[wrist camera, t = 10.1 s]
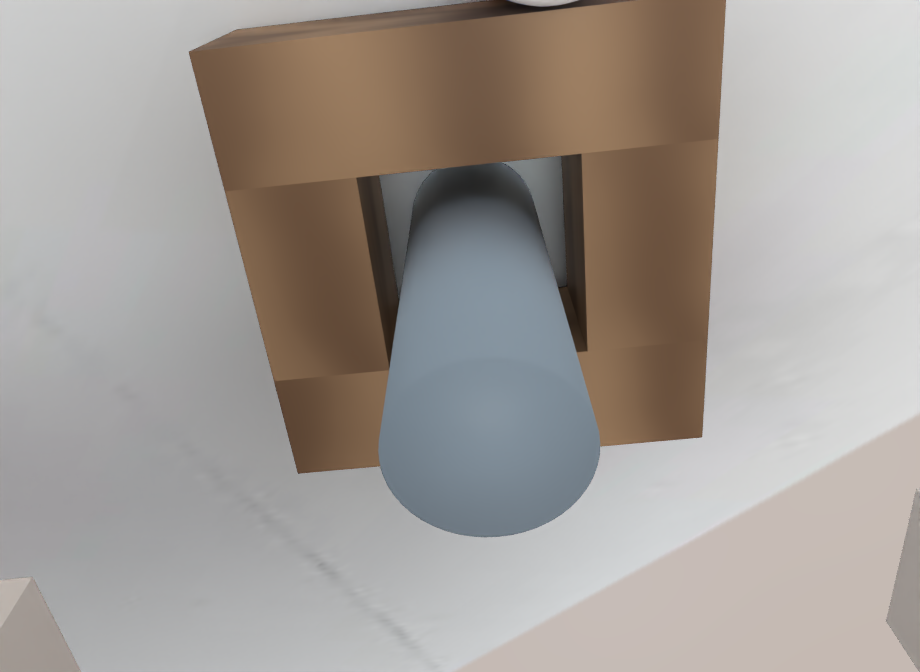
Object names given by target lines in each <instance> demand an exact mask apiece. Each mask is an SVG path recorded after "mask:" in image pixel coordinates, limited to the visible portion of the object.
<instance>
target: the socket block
mask: <svg viewBox="0 0 920 672" xmlns="http://www.w3.org/2000/svg"><path fill="white" fill-rule="evenodd" d="M725 8H726V0H578V1H575V2H571V3H567V4H562V5H557V6H545V7H539V6H529V5H523V4H518V3H515V2H511V1H507V0H489V1H480V2H472V3H463V4H454V5H446V6H437V7H428V8H420V9H411V10H403V11H394V12H385V13H377V14H368V15H359V16H351V17H342V18H333V19H325V20H316V21H307V22H299V23H290V24H281V25H273V26H264V27H256V28H247V29H238V30H235V31H233V32H231V33H228V34H226V35H224V36H222V37H220V38H218V39H215V40H213V41H211V42H209V43H207V44H205V45H202V46H200V47H198V48H196V49H194V50H192V51H190V52H189V55H190V59H191V63H192V66H193V70H194V74H195V78H196V82H197V86H198V90H199V93H200V97H201V101H202V105H203V109H204V113H205V117H206V120H207V124H208V128H209V132H210V136H211V140H212V144H213V147H214V151H215V155H216V159H217V163H218V167H219V171H220V175H221V178H222V182H223V186H224V190H225V194H226V198H227V202H228V205H229V209H230V213H231V217H232V221H233V225H234V229H235V232H236V236H237V240H238V244H239V248H240V252H241V256H242V259H243V263H244V267H245V271H246V275H247V279H248V283H249V286H250V290H251V294H252V298H253V302H254V306H255V310H256V313H257V317H258V321H259V325H260V329H261V333H262V337H263V340H264V344H265V348H266V352H267V356H268V360H269V364H270V367H271V371H272V375H273V379H274V383H275V387H276V391H277V394H278V398H279V402H280V406H281V410H282V414H283V418H284V421H285V425H286V429H287V433H288V437H289V441H290V445H291V448H292V452H293V456H294V460H295V464H296V468H297V472H298V474H299V473H310V472H321V471H332V470H343V469H354V468H366V467H377V466H380V462H379V453H378V448H379V436H380V429H381V422H382V416H383V409H384V402H385V395H386V388H387V382H388V375H389V368H390V361H391V355H392V348H393V341H394V334H395V327H396V321H397V314H398V307H399V298H398V292H397V286H396V279H395V273H394V267H393V260H392V254H391V248H390V242H389V235H388V229H387V223H386V216H385V210H384V204H383V198H382V191H381V185H380V179H379V175H385V174H394V173H403V172H413V171H422V170H432V169H441V168H450V167H460V166H469V165H479V164H488V163H497V162H507V161H516V160H526V159H535V158H544V157H554V156H562V179H563V203H564V226H565V249H566V272H567V287H558V290H559V293H560V297H561V300H562V304H563V307H564V311H565V314H566V318H567V321H568V325H569V328H570V332H571V335H572V339H573V342H574V346H575V349H576V352H577V356H578V359H579V363H580V366H581V370H582V373H583V377H584V380H585V384H586V387H587V391H588V394H589V398H590V401H591V405H592V408H593V412H594V415H595V419H596V422H597V426H598V430H599V436H600V446H611V445H622V444H633V443H644V442H655V441H666V440H678V439H689V438H700V437H702V430H703V412H704V394H705V375H706V357H707V339H708V320H709V302H710V283H711V265H712V247H713V228H714V210H715V192H716V173H717V155H718V136H719V118H720V100H721V81H722V63H723V44H724V26H725Z"/></svg>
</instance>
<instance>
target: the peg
mask: <svg viewBox="0 0 920 672" xmlns="http://www.w3.org/2000/svg"><path fill="white" fill-rule="evenodd" d="M378 453H379V462H380V466H381V470H382V474H383V476H384V478H385V481H386V483H387V485H388V487H389V488H390V490H391V491H392V493H393V494H394V496H395V497H396V498H397V499H398V500H399V502H400V503H401V504H402V505H403V506H404V507H405V508H407V509H408V510H409V511H410V512H411V513H412V514H414V515H415V516H417V517H418V518H420V519H421V520H423V521H425V522H427V523H429V524H430V525H432V526H435V527H437V528H440V529H442V530H445V531H448V532H452V533H456V534H460V535H466V536H474V537H500V536H507V535H514V534H518V533H522V532H526V531H529V530H531V529H534V528H537V527H539V526H542V525H544V524H546V523H548V522H550V521H551V520H553V519H555V518H556V517H558V516H560V515H561V514H562V513H564V512H565V511H566V510H567V509H569V508H570V507H571V506H572V505H573V504H574V503H575V502H576V501H577V500H578V499H579V498H580V497H581V495H582V494H583V493H584V492H585V490H586V489H587V487H588V486H589V484H590V482H591V480H592V478H593V476H594V474H595V471H596V468H597V465H598V460H599V456H600V436H599V430H598V426H597V422H596V419H595V415H594V412H593V408H592V405H591V401H590V398H589V394H588V391H587V387H586V384H585V380H584V377H583V373H582V370H581V366H580V363H579V359H578V356H577V352H576V349H575V346H574V342H573V339H572V335H571V332H570V328H569V325H568V321H567V318H566V314H565V311H564V307H563V304H562V300H561V297H560V293H559V290H558V286H557V283H556V279H555V276H554V272H553V269H552V265H551V262H550V258H549V255H548V251H547V248H546V244H545V241H544V237H543V234H542V230H541V227H540V223H539V220H538V216H537V213H536V209H535V206H534V202H533V199H532V195H531V193H530V191H529V188H528V187H527V185H526V183H525V182H524V181H523V179H522V178H521V177H520V176H519V175H518V174H517V173H516V172H515V171H514V170H513V169H511V168H510V167H508V166H507V165H505V164H503V163H501V162H497V163H488V164H479V165H469V166H460V167H450V168H441V169H436V170H435V171H433V172H432V173H431V174H430V175H429V176H428V177H427V178H426V179H425V181H424V182H423V184H422V185H421V187H420V189H419V191H418V193H417V195H416V198H415V201H414V206H413V212H412V219H411V226H410V233H409V239H408V246H407V253H406V260H405V267H404V273H403V280H402V287H401V294H400V300H399V307H398V314H397V321H396V327H395V334H394V341H393V348H392V355H391V361H390V368H389V375H388V382H387V388H386V395H385V402H384V409H383V416H382V422H381V429H380V436H379V448H378Z"/></svg>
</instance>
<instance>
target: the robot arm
mask: <svg viewBox="0 0 920 672" xmlns="http://www.w3.org/2000/svg"><path fill="white" fill-rule="evenodd" d="M886 621H887V623H888V625H889V626H890V628H891V629H892V631H893V632H894V634H895V636H896V637H897V639H898V640H899V642H900V643H901V644H902V646H903V648H904V649H905V651H906V652H907V654H908V656H909V657H910V659H911V660H912V662H913V663H914V665H915V666H916V668H917V669H918V671H919V672H920V489H916V492H915V497H914V501H913V505H912V510H911V514H910V519H909V523H908V527H907V532H906V536H905V541H904V545H903V549H902V554H901V558H900V563H899V567H898V571H897V575H896V580H895V584H894V589H893V593H892V597H891V602H890V606H889V611H888V615H887V619H886ZM0 672H81V671H80V669H79V667H78V665H77V663H76V661H75V659H74V657H73V655H72V653H71V651H70V649H69V647H68V645H67V643H66V641H65V639H64V637H63V635H62V633H61V631H60V629H59V628H58V626H57V624H56V622H55V620H54V618H53V616H52V614H51V612H50V610H49V608H48V606H47V604H46V602H45V600H44V598H43V596H42V594H41V592H40V590H39V588H38V586H37V584H36V582H35V580H34V579H33V577H25V578H15V579H5V580H0Z"/></svg>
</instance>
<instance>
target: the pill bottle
mask: <svg viewBox="0 0 920 672" xmlns="http://www.w3.org/2000/svg"><path fill="white" fill-rule="evenodd" d="M507 1H511V2H515V3H518V4H523V5H529V6H539V7H545V6H557V5H562V4H567V3H571V2H575V1H578V0H507Z"/></svg>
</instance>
